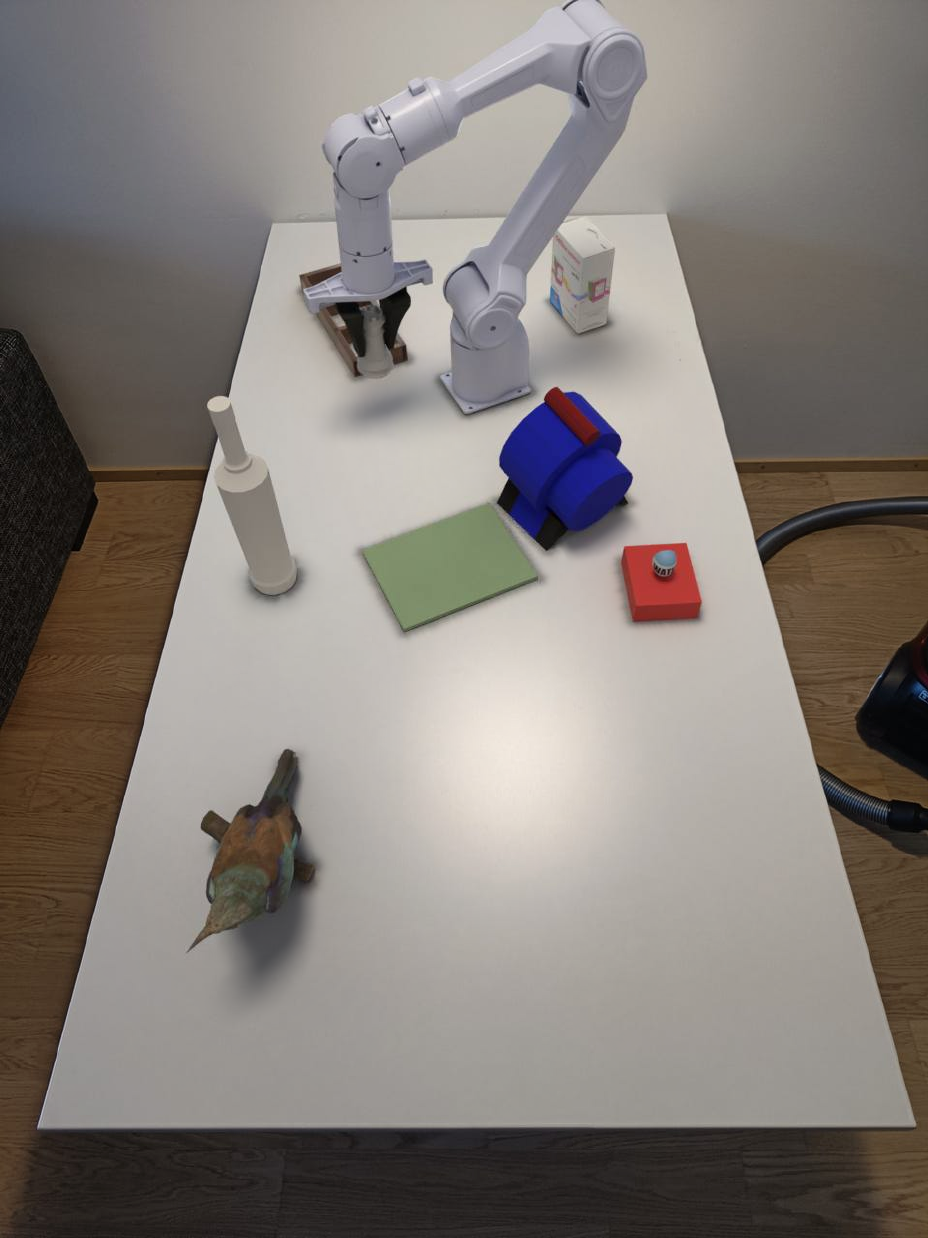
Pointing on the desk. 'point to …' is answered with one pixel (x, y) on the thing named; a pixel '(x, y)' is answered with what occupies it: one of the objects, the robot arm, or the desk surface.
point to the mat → (448, 566)
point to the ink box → (581, 274)
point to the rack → (341, 333)
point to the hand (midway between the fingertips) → (374, 348)
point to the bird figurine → (254, 856)
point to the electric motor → (562, 468)
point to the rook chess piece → (374, 346)
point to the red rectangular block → (660, 582)
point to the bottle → (251, 505)
